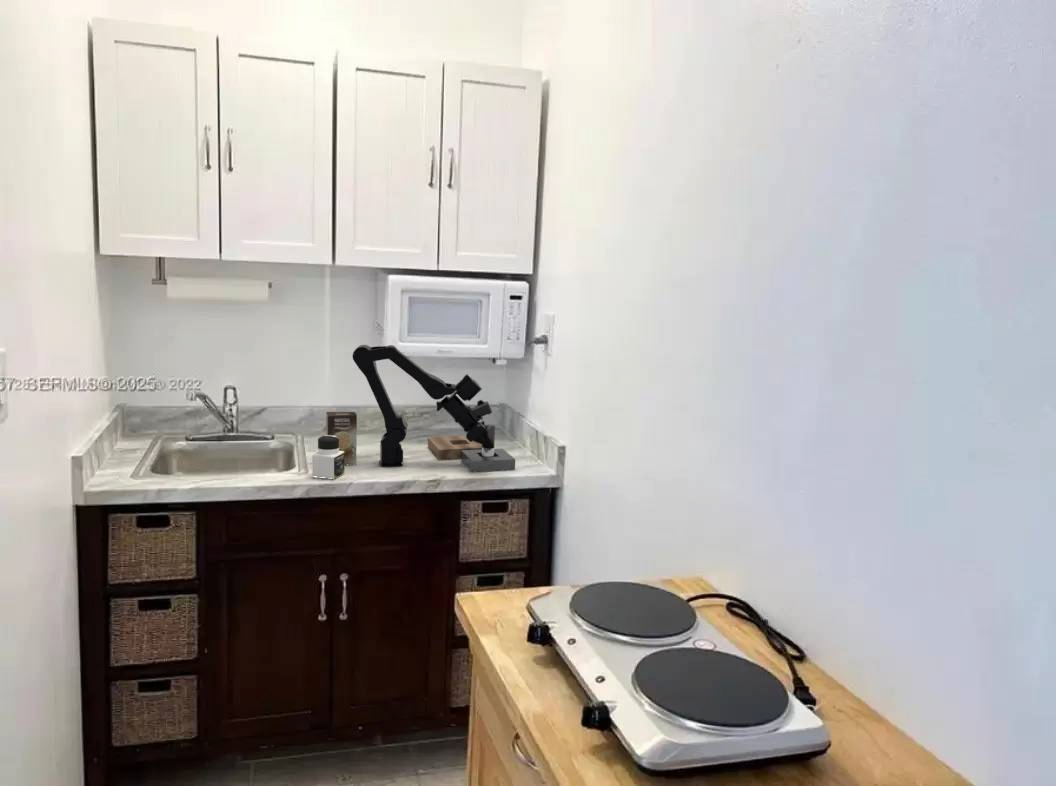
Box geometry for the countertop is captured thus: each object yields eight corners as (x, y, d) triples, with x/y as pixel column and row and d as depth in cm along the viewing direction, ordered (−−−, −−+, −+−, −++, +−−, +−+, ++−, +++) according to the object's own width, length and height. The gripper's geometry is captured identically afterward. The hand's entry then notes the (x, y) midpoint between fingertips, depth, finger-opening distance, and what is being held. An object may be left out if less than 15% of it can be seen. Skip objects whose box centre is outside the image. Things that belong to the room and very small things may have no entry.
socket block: (472, 472, 247) (472, 461, 247) (461, 460, 260) (461, 450, 260) (514, 469, 252) (515, 459, 251) (502, 458, 265) (502, 448, 264)
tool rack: (438, 460, 260) (439, 449, 259) (427, 447, 277) (427, 437, 276) (491, 457, 266) (492, 447, 265) (477, 445, 282) (478, 435, 282)
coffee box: (326, 466, 248) (326, 415, 245) (325, 461, 253) (325, 411, 251) (356, 465, 250) (357, 415, 248) (354, 459, 256) (354, 411, 254)
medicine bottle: (334, 480, 233) (334, 440, 231) (312, 478, 235) (311, 438, 232) (344, 473, 240) (344, 435, 238) (322, 471, 241) (322, 433, 239)
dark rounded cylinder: (483, 467, 254) (484, 427, 251) (479, 464, 257) (481, 424, 255) (495, 466, 255) (496, 426, 253) (491, 463, 259) (493, 424, 256)
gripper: (478, 399, 243) (513, 434, 246) (476, 388, 261) (508, 422, 264) (451, 423, 243) (486, 459, 246) (451, 411, 261) (484, 445, 264)
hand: (492, 445), depth 255 cm, fingers closed on dark rounded cylinder, 4 cm apart
